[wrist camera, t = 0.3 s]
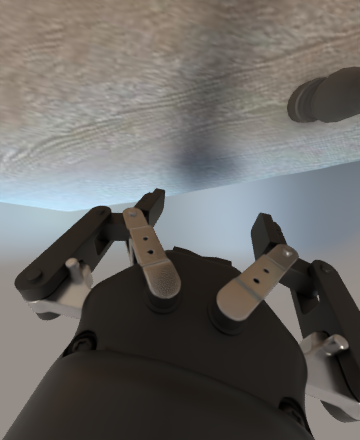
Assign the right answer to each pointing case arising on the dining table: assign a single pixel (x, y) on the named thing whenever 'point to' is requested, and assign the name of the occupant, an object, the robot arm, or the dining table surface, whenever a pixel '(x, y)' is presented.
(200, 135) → the dining table surface
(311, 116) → the candle holder
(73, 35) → the dining table surface
